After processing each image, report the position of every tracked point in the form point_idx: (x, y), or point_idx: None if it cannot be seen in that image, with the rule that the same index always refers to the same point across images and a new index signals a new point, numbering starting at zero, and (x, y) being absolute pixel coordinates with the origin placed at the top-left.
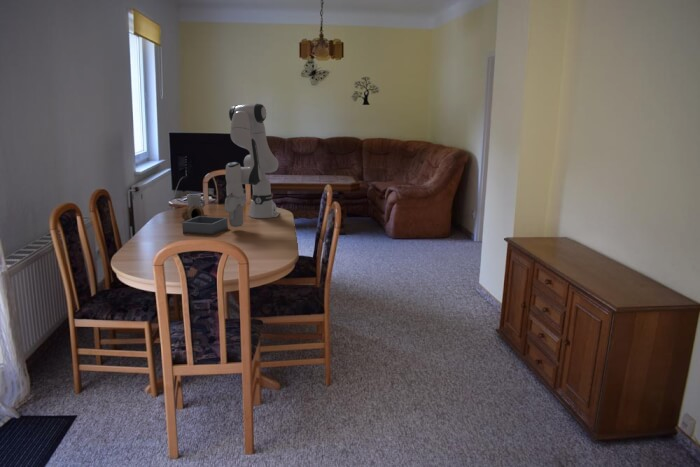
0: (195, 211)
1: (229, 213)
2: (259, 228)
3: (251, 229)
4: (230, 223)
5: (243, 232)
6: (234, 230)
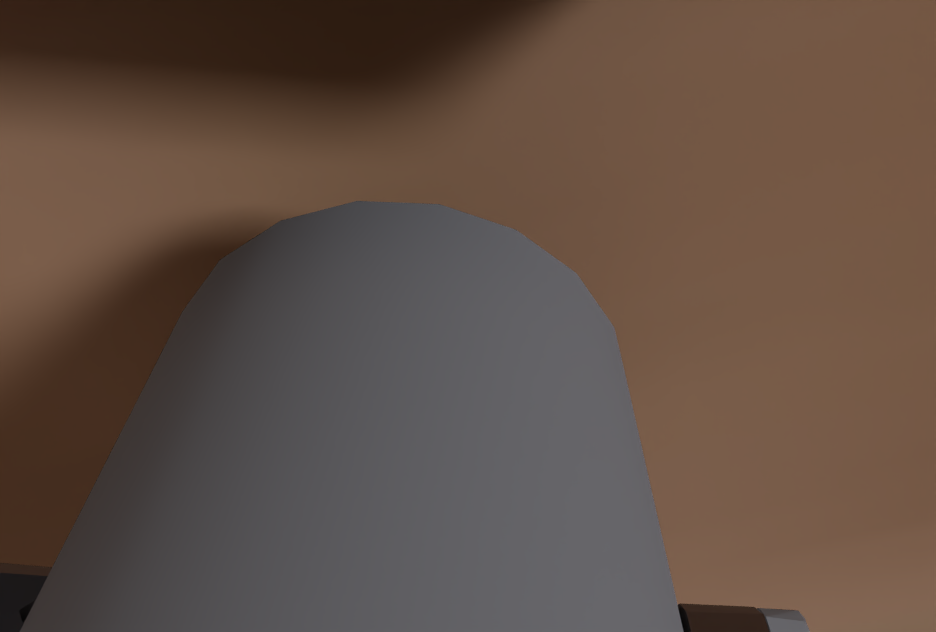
0: None
1: (48, 625)
2: None
3: None
4: (191, 308)
5: None
6: None
